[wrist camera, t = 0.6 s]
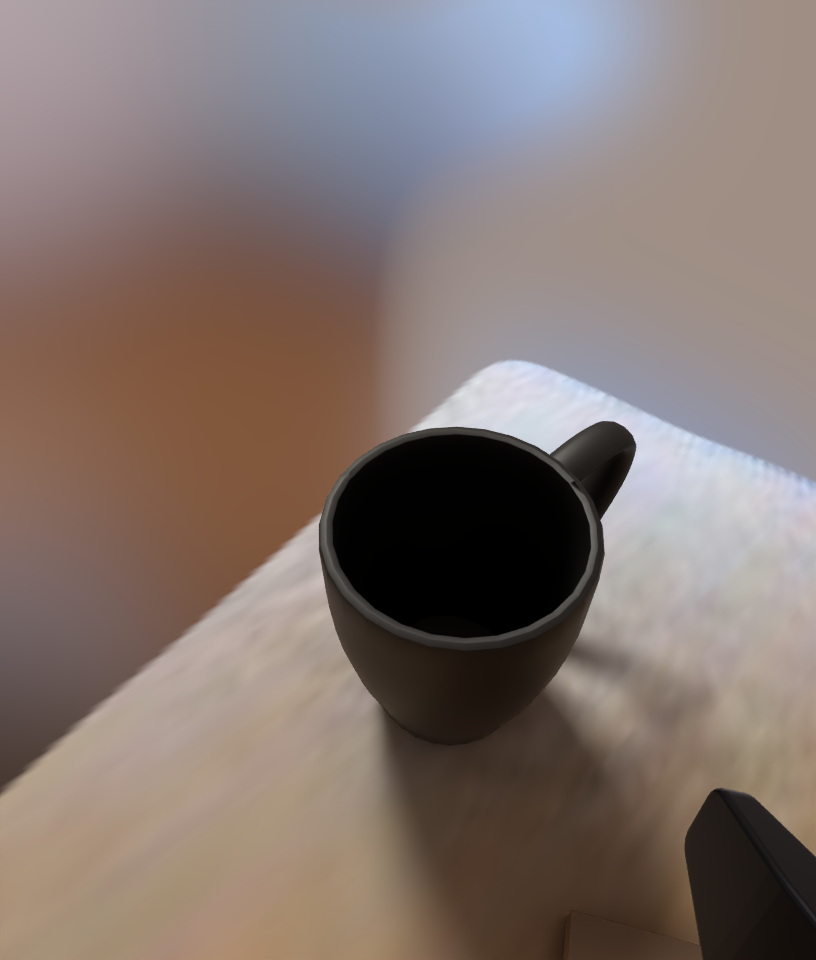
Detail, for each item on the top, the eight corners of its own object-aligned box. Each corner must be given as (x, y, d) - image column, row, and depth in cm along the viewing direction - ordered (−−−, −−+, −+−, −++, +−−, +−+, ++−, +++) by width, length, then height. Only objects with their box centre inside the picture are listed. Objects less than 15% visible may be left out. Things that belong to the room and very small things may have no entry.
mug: (662, 639, 27) (748, 481, 20) (431, 835, 23) (440, 717, 16) (521, 515, 32) (552, 351, 25) (302, 656, 27) (264, 501, 20)
